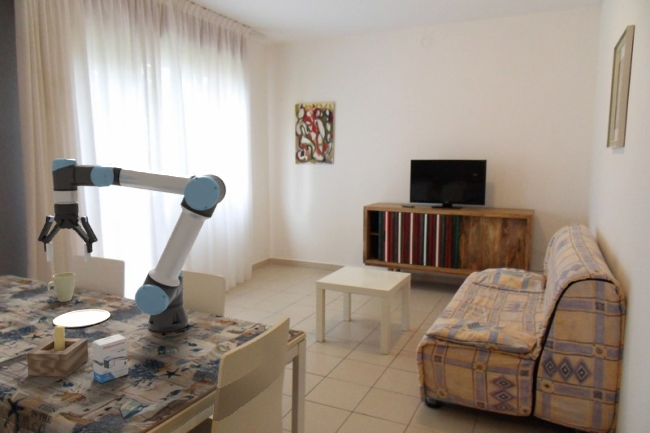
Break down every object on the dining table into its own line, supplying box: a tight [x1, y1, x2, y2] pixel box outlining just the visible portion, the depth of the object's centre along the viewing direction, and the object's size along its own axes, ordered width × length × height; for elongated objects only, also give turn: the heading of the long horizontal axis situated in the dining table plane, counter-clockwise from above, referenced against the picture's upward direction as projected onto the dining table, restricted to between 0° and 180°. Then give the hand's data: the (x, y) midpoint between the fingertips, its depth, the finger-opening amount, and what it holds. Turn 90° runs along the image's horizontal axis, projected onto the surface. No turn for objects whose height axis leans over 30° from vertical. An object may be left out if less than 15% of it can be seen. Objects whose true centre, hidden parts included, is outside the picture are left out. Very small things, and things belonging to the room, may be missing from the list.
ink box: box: [91, 333, 129, 384], centre depth 138 cm, size 9×5×12 cm, turn 141°
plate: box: [52, 308, 111, 329], centre depth 186 cm, size 21×21×1 cm
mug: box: [46, 272, 76, 303], centre depth 207 cm, size 11×10×12 cm
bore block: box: [26, 337, 89, 377], centre depth 143 cm, size 12×12×7 cm
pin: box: [53, 325, 66, 351], centre depth 143 cm, size 3×3×12 cm
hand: (69, 261), depth 163 cm, fingers open, 13 cm apart
